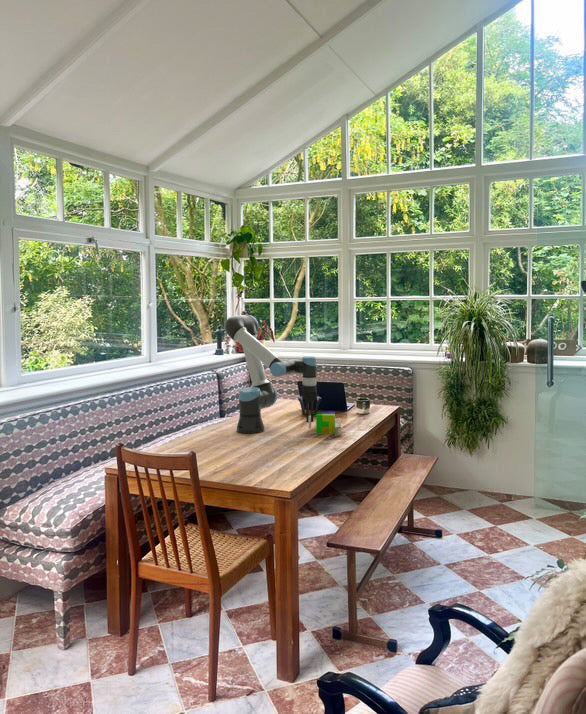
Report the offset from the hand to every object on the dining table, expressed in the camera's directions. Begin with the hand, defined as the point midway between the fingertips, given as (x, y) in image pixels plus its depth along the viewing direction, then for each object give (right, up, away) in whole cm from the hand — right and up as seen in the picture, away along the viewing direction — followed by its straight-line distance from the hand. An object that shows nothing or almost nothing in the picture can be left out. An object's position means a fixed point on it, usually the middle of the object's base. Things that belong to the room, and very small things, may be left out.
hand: (309, 427), depth 338 cm
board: (+15, -2, -1) cm, 15 cm away
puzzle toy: (+9, -2, 0) cm, 9 cm away
